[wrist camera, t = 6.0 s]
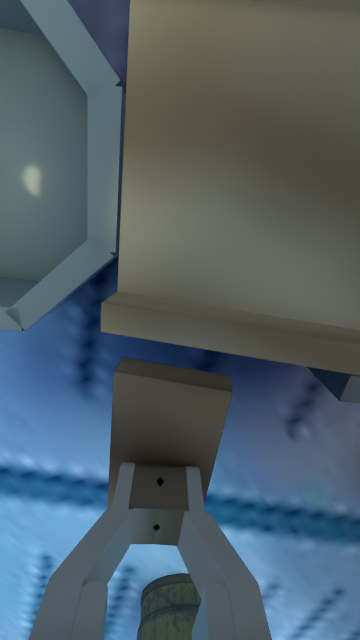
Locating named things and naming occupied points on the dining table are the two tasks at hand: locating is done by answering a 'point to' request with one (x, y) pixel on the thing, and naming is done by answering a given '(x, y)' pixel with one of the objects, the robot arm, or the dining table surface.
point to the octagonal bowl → (55, 159)
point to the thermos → (169, 609)
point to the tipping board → (233, 209)
